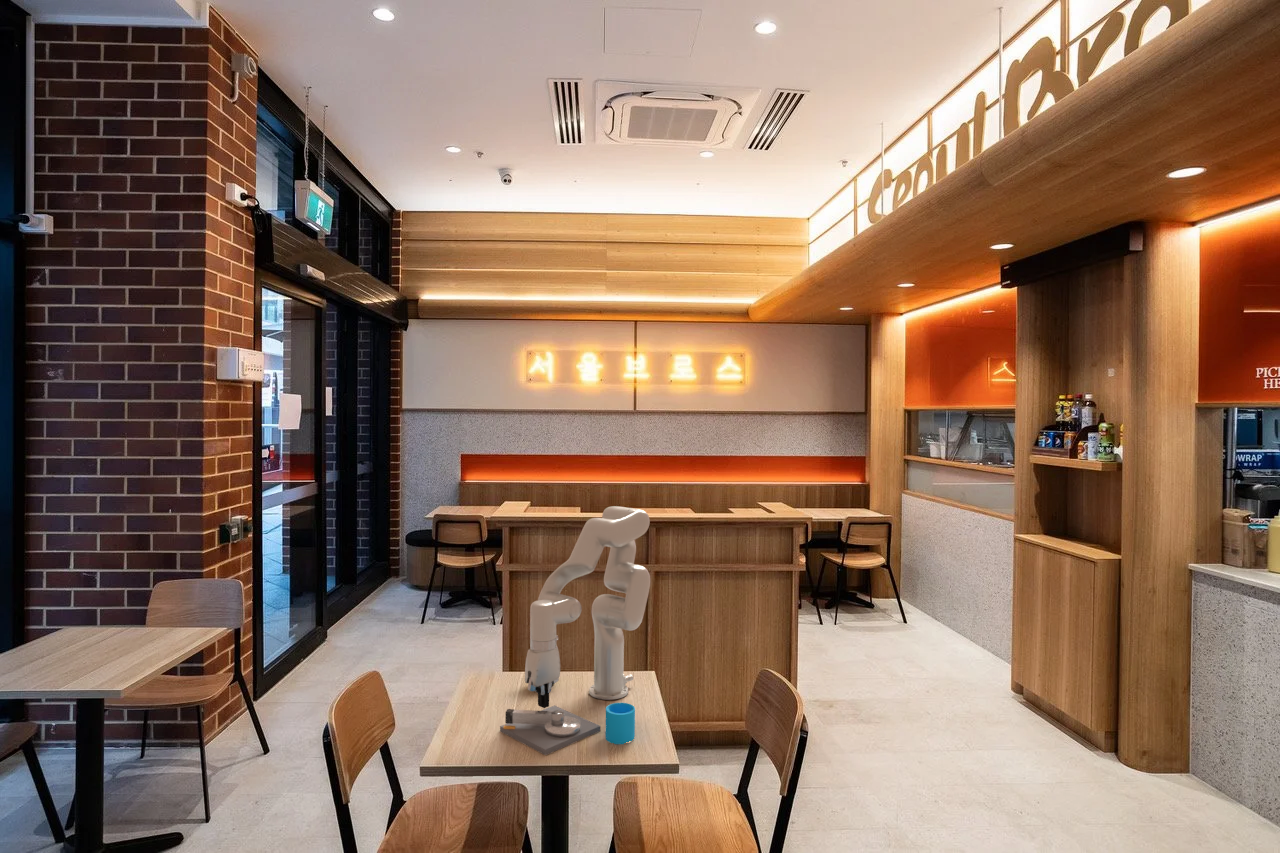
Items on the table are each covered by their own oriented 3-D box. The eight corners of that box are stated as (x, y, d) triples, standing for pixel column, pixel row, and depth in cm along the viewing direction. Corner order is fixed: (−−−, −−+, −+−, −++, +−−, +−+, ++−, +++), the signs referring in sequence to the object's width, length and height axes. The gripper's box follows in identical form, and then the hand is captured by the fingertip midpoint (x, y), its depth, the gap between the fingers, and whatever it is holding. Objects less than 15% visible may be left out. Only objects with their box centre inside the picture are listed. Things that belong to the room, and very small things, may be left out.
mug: (634, 744, 192) (634, 715, 192) (604, 744, 192) (604, 714, 192) (635, 725, 204) (636, 697, 204) (607, 724, 204) (608, 696, 204)
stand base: (554, 710, 213) (554, 703, 213) (600, 731, 200) (600, 723, 200) (499, 731, 199) (499, 724, 199) (544, 755, 185) (544, 747, 185)
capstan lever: (510, 719, 203) (510, 703, 203) (582, 722, 202) (583, 706, 202) (501, 734, 193) (501, 718, 193) (577, 738, 192) (577, 721, 192)
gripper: (554, 634, 213) (554, 694, 213) (514, 647, 202) (514, 710, 202) (571, 640, 208) (571, 702, 208) (531, 653, 197) (531, 718, 197)
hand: (543, 706), depth 205 cm, fingers closed
